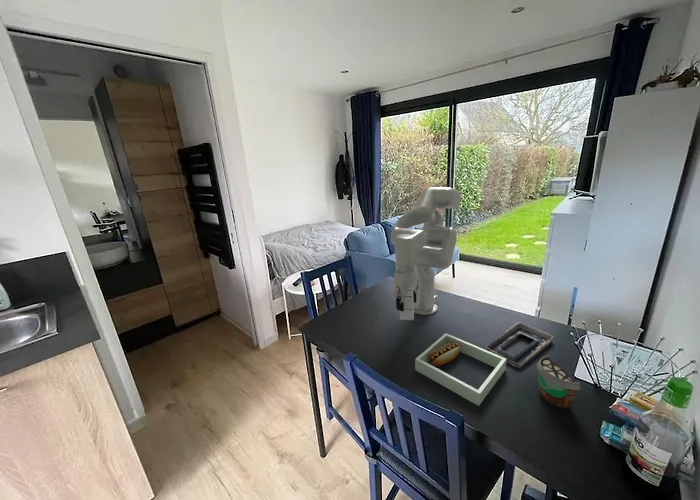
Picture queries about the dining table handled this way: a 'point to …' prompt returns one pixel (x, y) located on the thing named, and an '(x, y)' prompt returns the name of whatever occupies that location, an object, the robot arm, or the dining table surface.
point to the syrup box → (408, 305)
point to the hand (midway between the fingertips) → (406, 305)
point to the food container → (556, 384)
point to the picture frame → (519, 325)
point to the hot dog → (444, 354)
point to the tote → (454, 383)
